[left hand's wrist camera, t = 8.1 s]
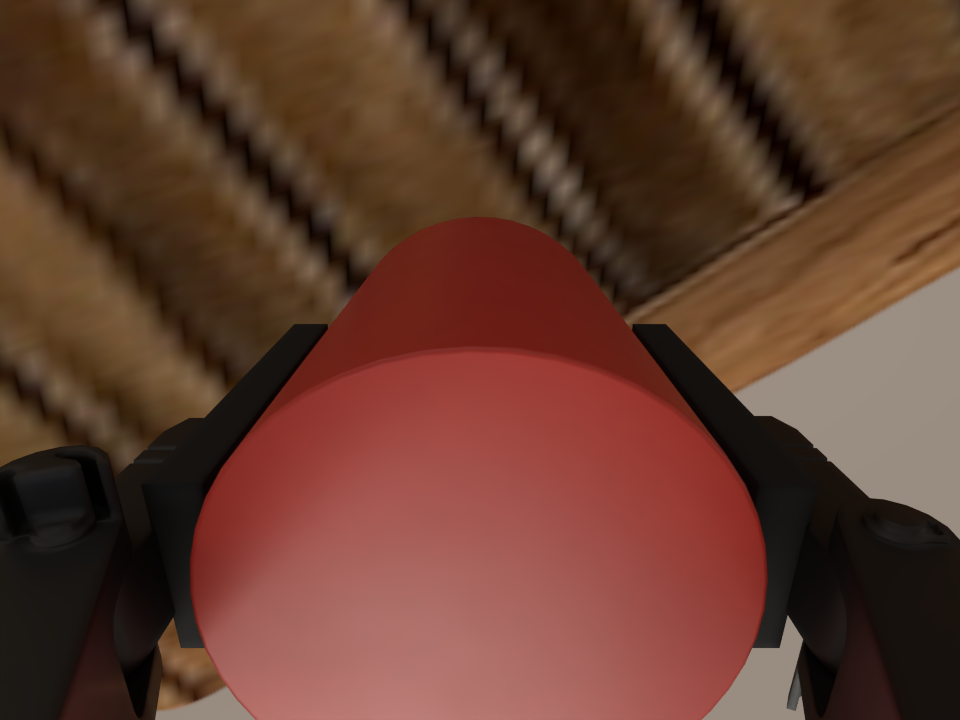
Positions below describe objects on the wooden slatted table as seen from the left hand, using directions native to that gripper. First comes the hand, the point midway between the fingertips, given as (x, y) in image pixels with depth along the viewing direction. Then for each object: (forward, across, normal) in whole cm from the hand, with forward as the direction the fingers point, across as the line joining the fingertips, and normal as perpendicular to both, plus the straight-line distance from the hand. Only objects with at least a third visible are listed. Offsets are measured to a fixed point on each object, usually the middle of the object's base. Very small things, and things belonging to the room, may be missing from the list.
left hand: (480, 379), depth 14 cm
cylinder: (+2, 0, 0) cm, 2 cm away
